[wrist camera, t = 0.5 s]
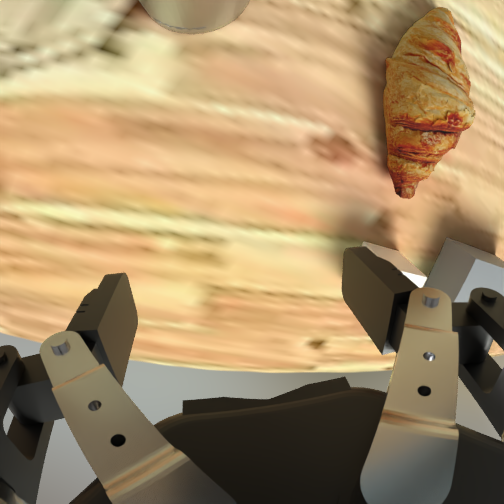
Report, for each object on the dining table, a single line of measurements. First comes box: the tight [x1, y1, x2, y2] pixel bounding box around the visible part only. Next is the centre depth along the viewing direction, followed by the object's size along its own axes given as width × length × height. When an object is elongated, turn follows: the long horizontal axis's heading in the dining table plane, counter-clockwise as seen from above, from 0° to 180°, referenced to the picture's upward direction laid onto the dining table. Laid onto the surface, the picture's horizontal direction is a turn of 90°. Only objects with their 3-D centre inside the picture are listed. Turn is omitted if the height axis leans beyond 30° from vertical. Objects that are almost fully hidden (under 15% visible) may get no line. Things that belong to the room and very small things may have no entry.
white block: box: [362, 241, 427, 288], centre depth 31 cm, size 5×5×6 cm
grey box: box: [424, 237, 504, 302], centre depth 35 cm, size 12×12×6 cm
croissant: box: [383, 7, 475, 199], centre depth 24 cm, size 21×10×8 cm, turn 168°
